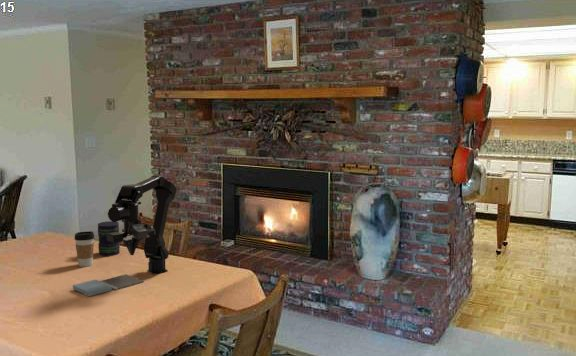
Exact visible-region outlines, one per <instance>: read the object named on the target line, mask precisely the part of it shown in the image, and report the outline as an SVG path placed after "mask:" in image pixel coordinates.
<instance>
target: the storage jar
mask: <svg viewBox="0 0 576 356" xmlns="http://www.w3.org/2000/svg"><path fill="white" fill-rule="evenodd" d="M119 223H120V222H119V221H117V222H113V221H111V220H109V221H102V222H99V223H97V236H98V245H97V246H98V247H97V248H98V255H99V256H101V257H112V256H117V255H119V254H120V252H121V251H120V250H121V249H120V246H121V245H120V242H117V243H113V242H110V241H107V235H108V233H113V232H118V233H120V227H119V225H120V224H119Z"/></svg>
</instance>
